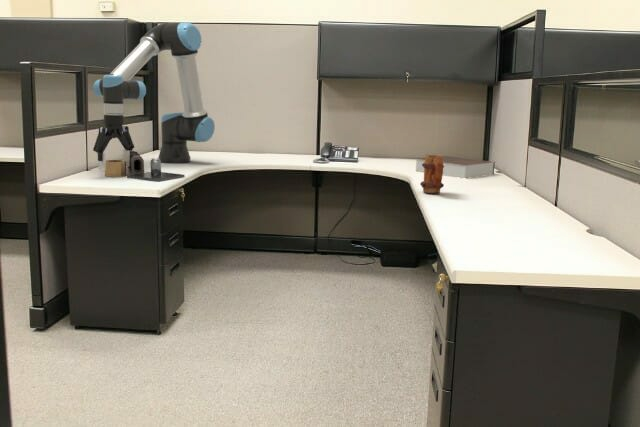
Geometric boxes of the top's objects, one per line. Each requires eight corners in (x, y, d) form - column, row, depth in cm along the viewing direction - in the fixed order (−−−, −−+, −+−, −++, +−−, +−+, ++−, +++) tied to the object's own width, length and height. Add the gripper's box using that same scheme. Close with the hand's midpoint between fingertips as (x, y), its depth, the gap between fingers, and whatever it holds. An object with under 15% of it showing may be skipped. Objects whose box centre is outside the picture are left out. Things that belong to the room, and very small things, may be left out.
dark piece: (154, 173, 273) (153, 155, 272) (184, 177, 266) (184, 158, 265) (126, 177, 259) (126, 158, 258) (158, 181, 252) (157, 162, 251)
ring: (115, 173, 269) (115, 159, 267) (130, 175, 265) (129, 161, 264) (100, 175, 262) (100, 161, 260) (115, 177, 258) (115, 162, 257)
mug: (417, 190, 252) (420, 152, 249) (438, 191, 253) (441, 152, 250) (427, 197, 238) (429, 156, 235) (448, 197, 239) (451, 157, 236)
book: (444, 169, 327) (445, 155, 325) (493, 175, 307) (494, 162, 306) (414, 172, 310) (415, 158, 308) (464, 180, 290) (465, 165, 289)
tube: (141, 172, 295) (149, 173, 267) (126, 176, 292) (133, 178, 265) (134, 149, 293) (141, 147, 265) (119, 153, 291) (125, 152, 263)
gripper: (128, 113, 271) (129, 164, 275) (82, 114, 249) (84, 169, 253) (142, 114, 268) (143, 165, 272) (96, 115, 246) (98, 171, 250)
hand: (114, 167), depth 263 cm, fingers open, 13 cm apart
